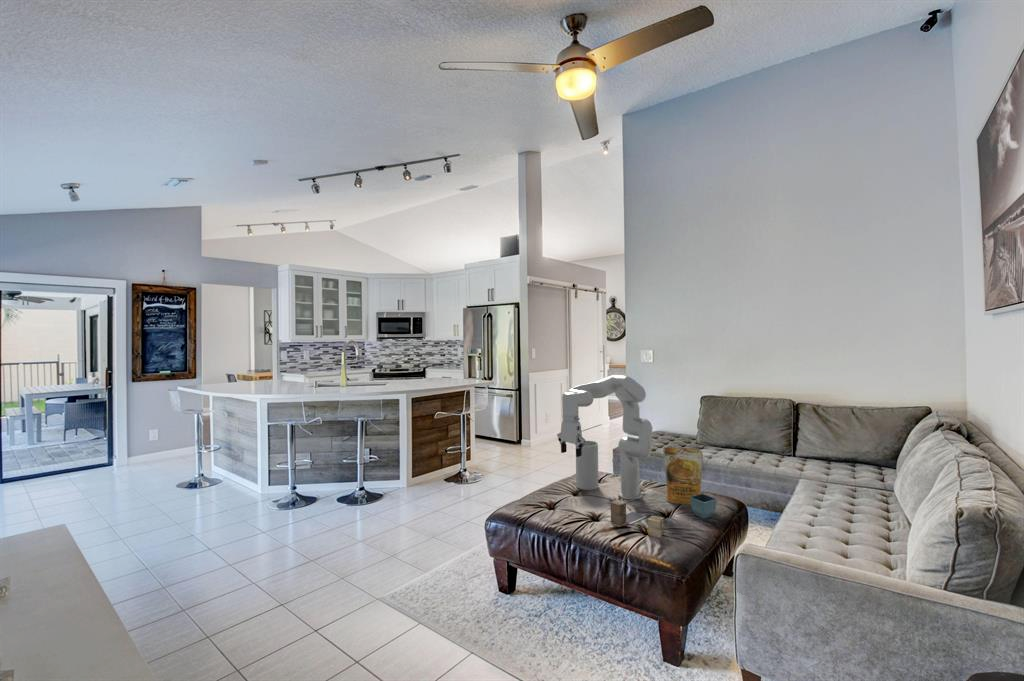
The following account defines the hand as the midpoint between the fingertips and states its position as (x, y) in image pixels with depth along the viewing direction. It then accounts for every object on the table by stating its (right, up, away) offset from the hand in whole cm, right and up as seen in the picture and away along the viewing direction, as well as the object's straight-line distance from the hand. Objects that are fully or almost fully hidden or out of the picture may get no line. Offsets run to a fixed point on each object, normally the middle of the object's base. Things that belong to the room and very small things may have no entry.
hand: (571, 454), depth 230 cm
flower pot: (+63, -30, +1) cm, 70 cm away
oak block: (+35, -31, -17) cm, 50 cm away
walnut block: (+21, -31, -5) cm, 38 cm away
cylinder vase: (+15, -29, +45) cm, 56 cm away
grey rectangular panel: (+29, -31, +1) cm, 42 cm away
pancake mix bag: (+60, -29, +19) cm, 69 cm away
